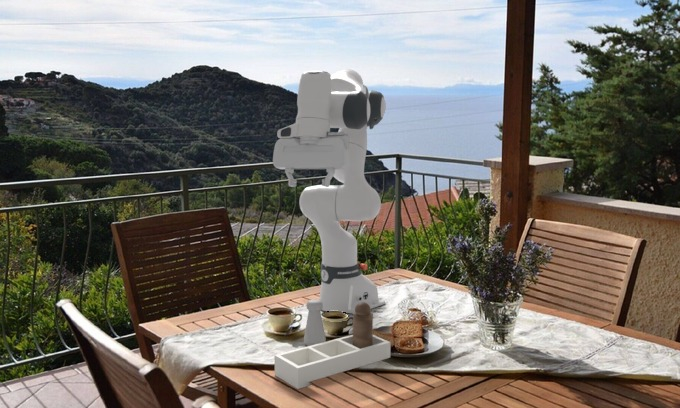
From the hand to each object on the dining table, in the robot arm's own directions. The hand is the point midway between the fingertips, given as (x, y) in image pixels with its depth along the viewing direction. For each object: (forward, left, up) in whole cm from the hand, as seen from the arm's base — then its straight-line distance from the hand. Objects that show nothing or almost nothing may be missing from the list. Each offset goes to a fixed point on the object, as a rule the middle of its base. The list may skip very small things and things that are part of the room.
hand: (308, 186), depth 169 cm
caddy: (+1, +13, -44) cm, 45 cm away
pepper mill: (-8, +13, -43) cm, 45 cm away
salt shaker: (-3, -1, -44) cm, 44 cm away
